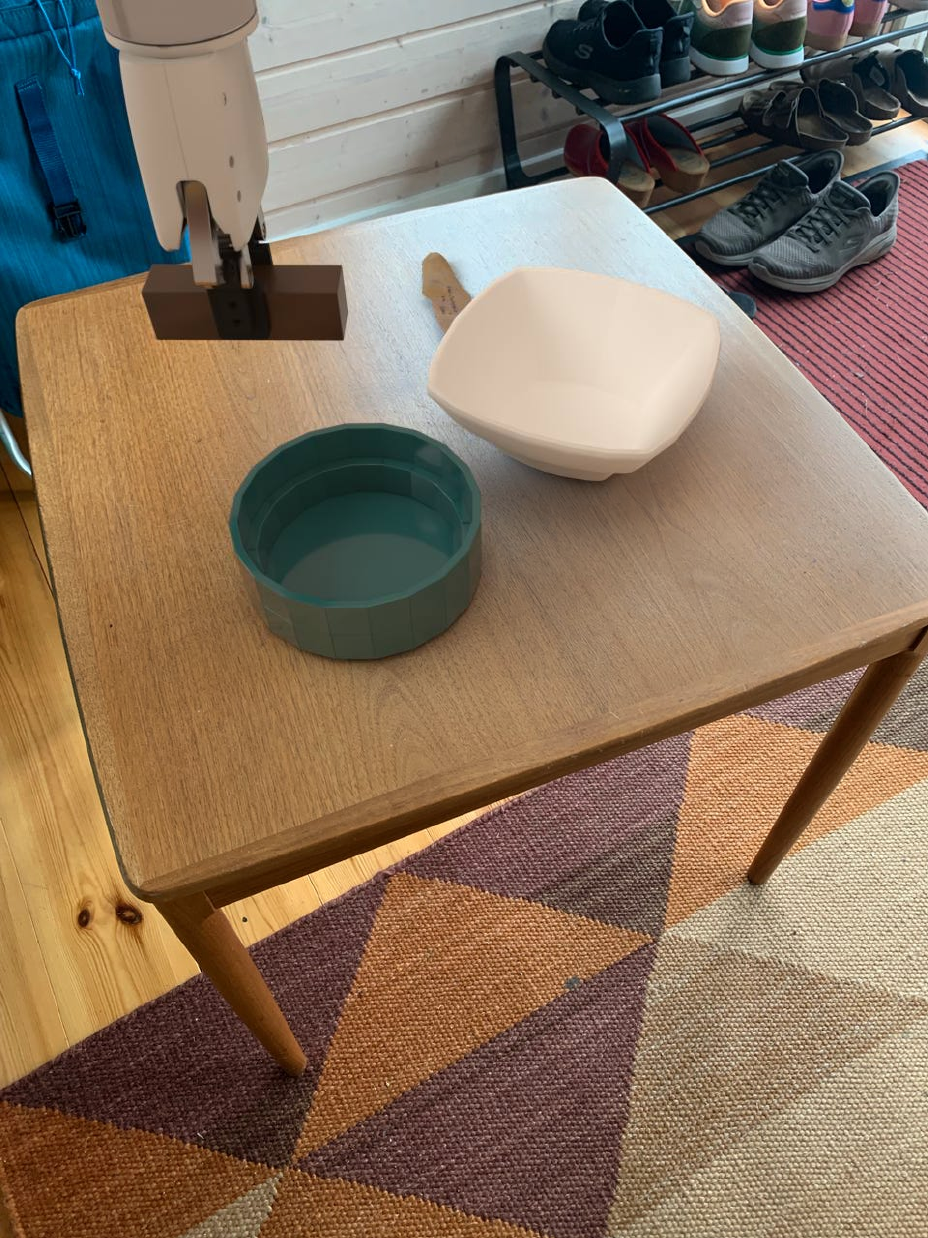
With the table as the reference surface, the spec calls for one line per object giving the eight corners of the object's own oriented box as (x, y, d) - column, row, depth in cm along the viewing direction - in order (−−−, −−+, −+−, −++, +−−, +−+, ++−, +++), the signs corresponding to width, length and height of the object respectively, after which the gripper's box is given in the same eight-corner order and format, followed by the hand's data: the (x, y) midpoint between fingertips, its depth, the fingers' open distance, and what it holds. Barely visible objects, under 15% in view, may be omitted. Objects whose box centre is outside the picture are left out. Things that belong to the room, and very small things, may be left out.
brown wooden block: (156, 340, 59) (140, 292, 56) (166, 311, 61) (151, 263, 58) (344, 341, 59) (337, 292, 56) (348, 312, 60) (342, 264, 58)
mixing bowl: (232, 665, 64) (210, 608, 58) (265, 485, 74) (248, 423, 69) (482, 663, 63) (482, 606, 58) (480, 483, 74) (479, 421, 68)
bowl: (401, 480, 74) (392, 396, 67) (503, 333, 85) (506, 248, 78) (648, 562, 68) (667, 480, 62) (724, 394, 79) (747, 308, 73)
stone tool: (403, 262, 91) (441, 353, 82) (407, 247, 90) (445, 338, 81) (452, 267, 93) (495, 356, 84) (456, 252, 92) (499, 341, 83)
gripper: (137, -69, 49) (215, 247, 64) (49, 68, 40) (165, 403, 54) (276, -70, 49) (323, 247, 64) (222, 68, 39) (291, 404, 54)
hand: (250, 316), depth 59 cm, fingers closed on brown wooden block, 3 cm apart
